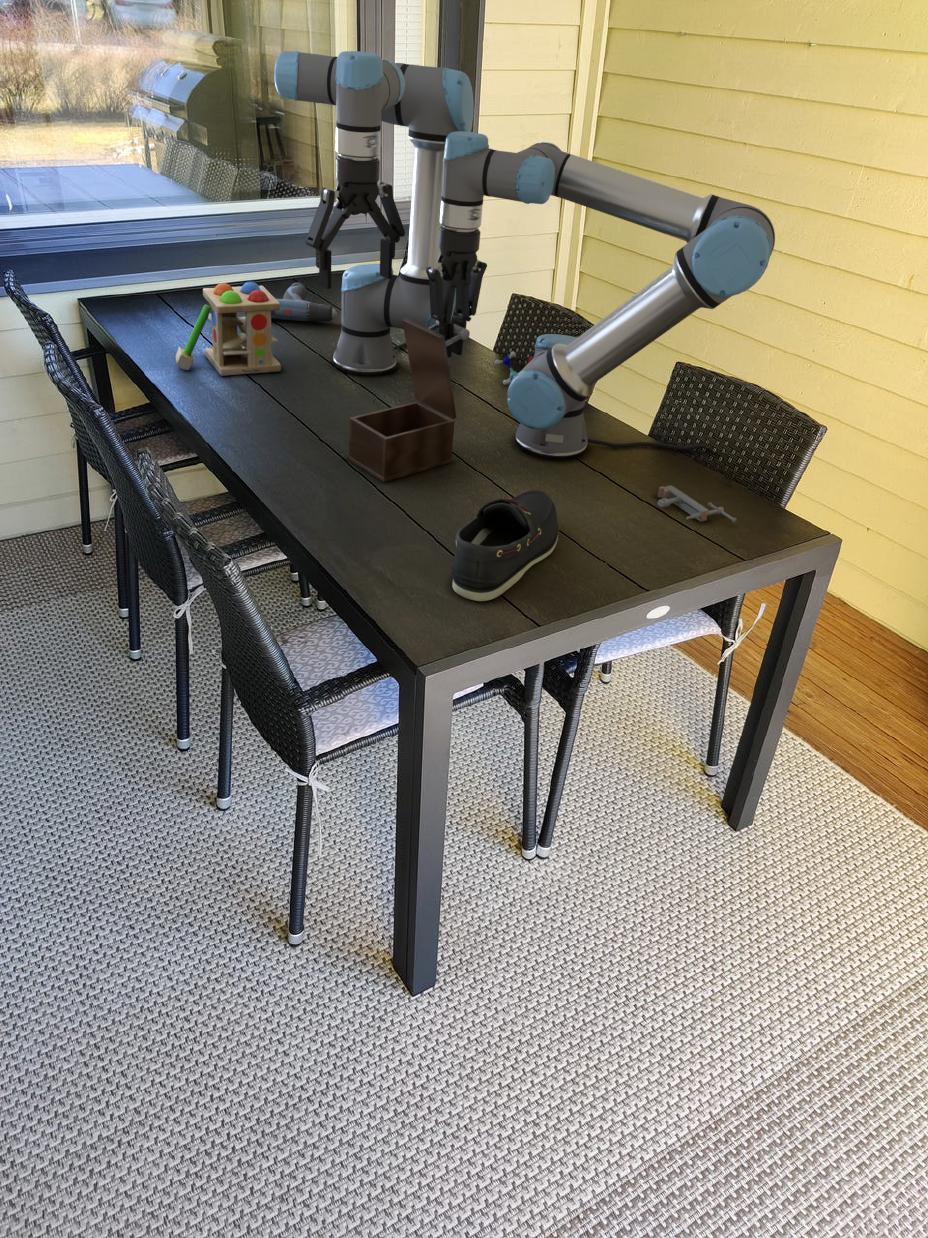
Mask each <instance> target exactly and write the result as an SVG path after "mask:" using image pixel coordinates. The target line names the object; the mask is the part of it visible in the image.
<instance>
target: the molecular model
mask: <svg viewBox="0 0 928 1238" xmlns="http://www.w3.org/2000/svg"><path fill="white" fill-rule="evenodd" d="M516 355H517V354H516V352H515V351H511V352H510V354H509V356H508V357H504V359H503V360H500V359H496V360H494V363H495V365H497V366H499V365H500V364H504V365H506V366H507V367H508V369H509V371H510V373H509V377H508V379H504V380H502V385H504V386H510V384H511V381H512V380H513V378H514V376H515V375H516V374H518V373H519V372H517V371H516V370H514V369H513V367H512V365H511V362H512V361H511V359H512V358H514V357H515V356H516ZM533 358H534V356H531V357H529V358H528V363H529V362H530V361H531V360H532V359H533Z"/></svg>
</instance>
